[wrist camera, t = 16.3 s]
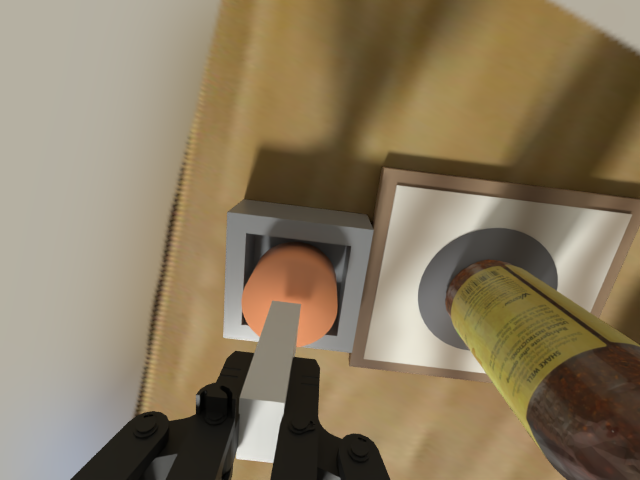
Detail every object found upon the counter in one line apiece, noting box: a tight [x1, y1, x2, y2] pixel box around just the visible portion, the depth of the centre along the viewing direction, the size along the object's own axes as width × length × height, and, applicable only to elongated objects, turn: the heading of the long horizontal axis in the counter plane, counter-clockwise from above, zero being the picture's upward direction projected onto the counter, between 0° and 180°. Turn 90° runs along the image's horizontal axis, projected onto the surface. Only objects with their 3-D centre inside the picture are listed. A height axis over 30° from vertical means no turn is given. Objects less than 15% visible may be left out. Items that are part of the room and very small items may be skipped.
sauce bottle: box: [445, 259, 640, 480], centre depth 15 cm, size 6×6×20 cm
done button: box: [241, 242, 338, 347], centre depth 21 cm, size 6×6×4 cm
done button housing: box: [223, 199, 374, 353], centre depth 24 cm, size 9×9×4 cm
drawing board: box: [349, 167, 640, 383], centre depth 25 cm, size 18×16×1 cm
